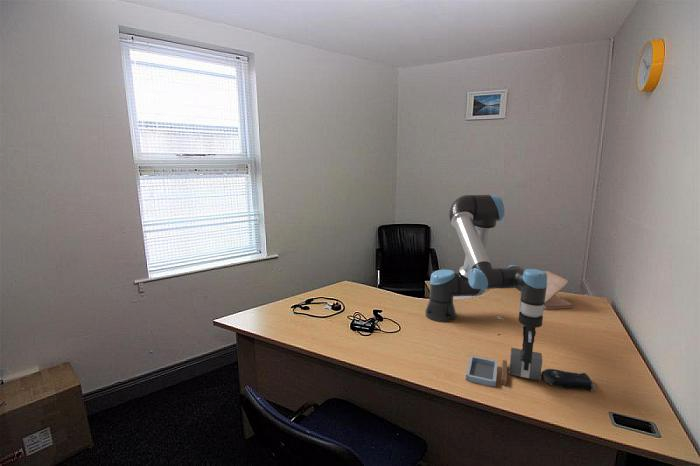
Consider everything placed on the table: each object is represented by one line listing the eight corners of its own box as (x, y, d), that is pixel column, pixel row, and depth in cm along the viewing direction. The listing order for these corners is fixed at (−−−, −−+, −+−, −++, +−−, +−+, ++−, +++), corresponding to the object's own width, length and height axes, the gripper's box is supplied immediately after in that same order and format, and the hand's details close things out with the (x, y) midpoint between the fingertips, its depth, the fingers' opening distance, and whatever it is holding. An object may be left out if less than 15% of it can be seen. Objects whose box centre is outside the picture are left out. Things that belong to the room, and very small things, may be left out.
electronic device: (581, 381, 132) (537, 370, 135) (586, 368, 130) (542, 358, 133) (590, 399, 123) (544, 388, 126) (596, 387, 122) (548, 375, 124)
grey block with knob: (509, 373, 132) (511, 352, 130) (509, 366, 136) (511, 346, 135) (540, 380, 128) (542, 358, 126) (539, 373, 132) (541, 351, 131)
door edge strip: (501, 384, 127) (501, 379, 126) (502, 364, 139) (502, 360, 139) (505, 385, 126) (506, 380, 126) (506, 365, 139) (507, 360, 138)
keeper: (465, 380, 129) (465, 375, 129) (470, 360, 143) (470, 355, 142) (495, 387, 125) (495, 382, 125) (497, 365, 139) (497, 361, 138)
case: (518, 296, 212) (520, 270, 209) (551, 295, 214) (554, 269, 211) (540, 310, 192) (543, 282, 189) (576, 309, 194) (580, 280, 191)
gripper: (545, 325, 118) (537, 389, 122) (541, 305, 134) (534, 362, 138) (519, 321, 121) (513, 383, 125) (519, 302, 137) (513, 358, 141)
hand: (524, 372), depth 132 cm, fingers closed on grey block with knob, 5 cm apart
